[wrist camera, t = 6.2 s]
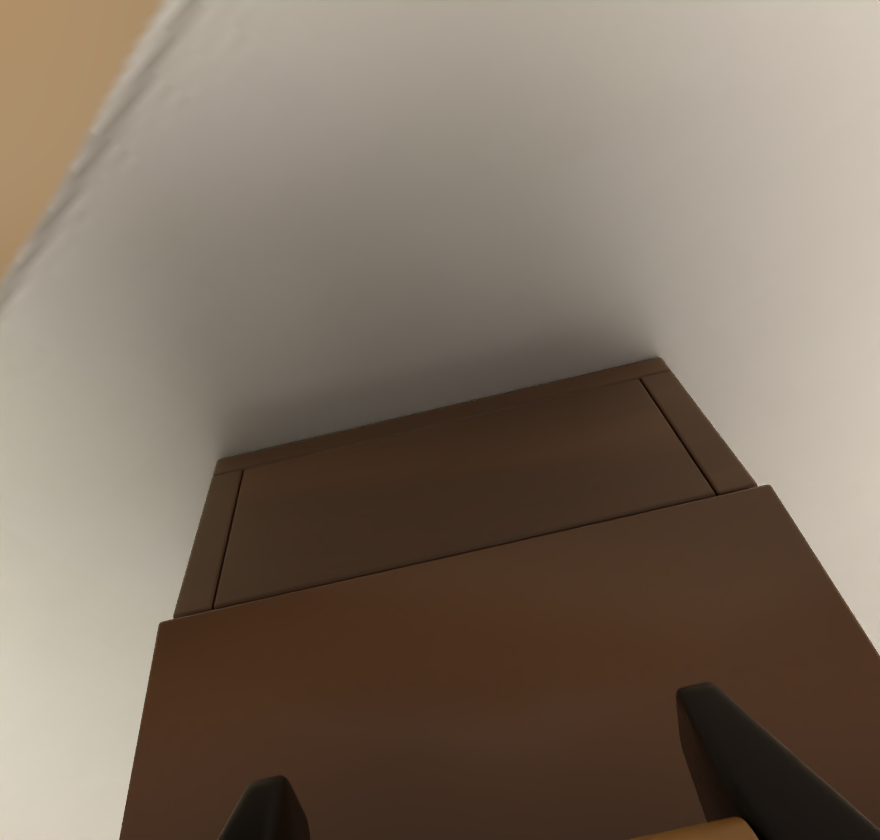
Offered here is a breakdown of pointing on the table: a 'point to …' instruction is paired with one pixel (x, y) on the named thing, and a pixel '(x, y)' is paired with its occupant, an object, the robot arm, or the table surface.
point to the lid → (514, 686)
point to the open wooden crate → (453, 483)
